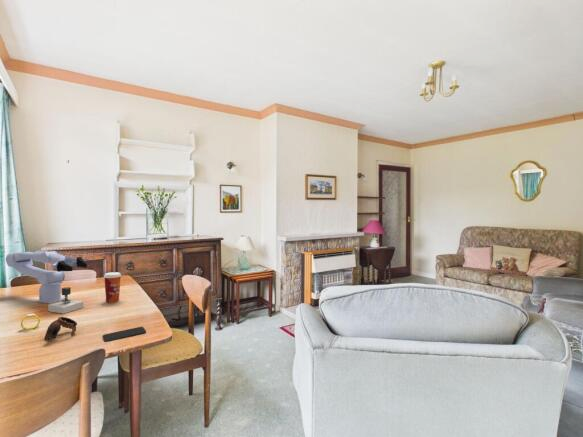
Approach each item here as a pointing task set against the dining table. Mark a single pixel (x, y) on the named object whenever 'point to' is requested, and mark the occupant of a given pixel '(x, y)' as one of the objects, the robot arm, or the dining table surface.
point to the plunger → (66, 294)
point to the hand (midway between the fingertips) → (79, 267)
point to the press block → (65, 306)
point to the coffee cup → (112, 286)
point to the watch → (30, 316)
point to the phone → (123, 334)
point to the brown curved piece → (56, 327)
